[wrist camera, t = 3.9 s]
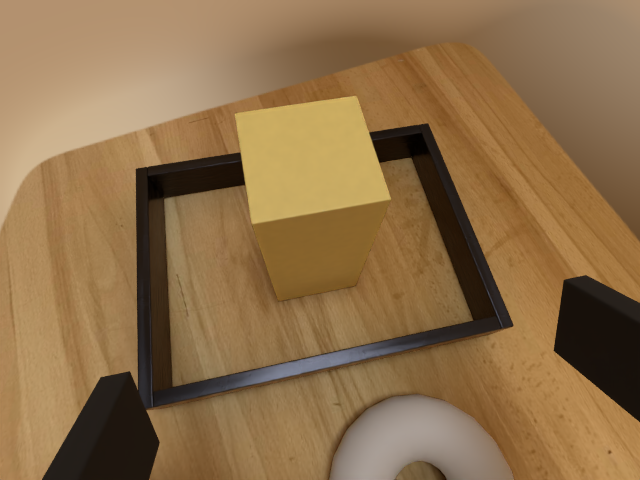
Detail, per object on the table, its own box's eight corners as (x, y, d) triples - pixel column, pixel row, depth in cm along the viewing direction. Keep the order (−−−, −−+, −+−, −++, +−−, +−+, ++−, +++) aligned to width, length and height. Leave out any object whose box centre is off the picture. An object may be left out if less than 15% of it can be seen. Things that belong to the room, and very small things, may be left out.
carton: (278, 301, 24) (251, 224, 13) (265, 230, 26) (234, 112, 15) (355, 286, 25) (391, 199, 14) (337, 217, 27) (356, 95, 16)
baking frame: (159, 409, 21) (137, 410, 19) (152, 191, 28) (135, 168, 25) (491, 334, 24) (514, 326, 21) (417, 147, 30) (428, 122, 27)
